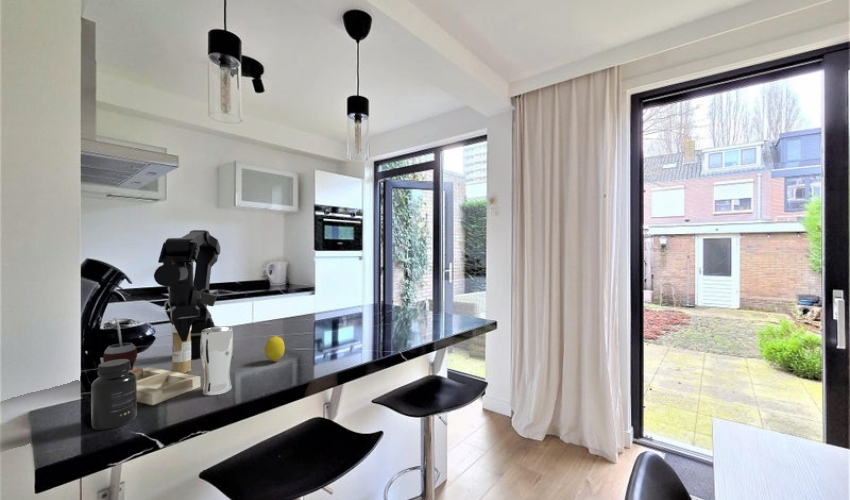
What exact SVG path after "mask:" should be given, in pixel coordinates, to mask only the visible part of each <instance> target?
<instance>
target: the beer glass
mask: <svg viewBox="0 0 850 500" xmlns="http://www.w3.org/2000/svg"><path fill="white" fill-rule="evenodd" d="M200 354H201V359H200V360H201V365H202V369H203V374H204V385H203V389H202V394H203V395H205V396H210V397H211V396H217V395H222V394H225V393H228V392H229V391H231V390H232V382H231V377H230V375H231V372H230V371H231V365H232V362H233V361H232V360H233V354H234V333H233V327H232V326H227V325H222V326H215V327H212V328H207V329H204V330H202V331H201V341H200Z"/></svg>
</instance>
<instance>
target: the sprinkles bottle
mask: <svg viewBox="0 0 850 500" xmlns="http://www.w3.org/2000/svg"><path fill="white" fill-rule="evenodd" d="M171 334H172V348H171V349H172V350H171V351H172V352H171V353H172V355H171V357H172V359H171V360H172V370H171V371H172V372H178V373H183V374H187V373H188V372H191V371H192V367H191V365H192V361H191V359H192V358H191V327H190V331H189V335H188V338H187V341H185V342H182V341H181V339H180V337H179V335H178V333H177V330H176V328H175V326H174V325H172V324H171Z"/></svg>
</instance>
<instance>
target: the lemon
mask: <svg viewBox="0 0 850 500" xmlns="http://www.w3.org/2000/svg"><path fill="white" fill-rule="evenodd" d="M285 347H286V346H285V342H284V340H283V338H282V337H279V336H277V335H273V336H272V337H270V338H269V339H268V340H267V341H266V343H265V345H264V354H265V356H266V357H267V359H268V360H271V361H273V362H274V363H275V362H277V361H278V360H279V359H281V358H282V357H283V356H284V354H285V349H286V348H285Z"/></svg>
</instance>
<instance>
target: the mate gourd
mask: <svg viewBox="0 0 850 500" xmlns="http://www.w3.org/2000/svg"><path fill="white" fill-rule="evenodd" d="M113 319H114V321H115V324H116V330H117V336H118V341H119V343H116V344H115V343H114V344H112V345H108V346H107V348H106V349H105V350H104V352H103V357H102V360H103V363H104V362H107V361H112V360H118V359H128V360H130V366H131V369H130V370H133V369H134V365H135V363H136V360H137V357H138V349H137V347H136V346H135V344H133V342H123V339H122V334H121V333H122V331H121V326H120V322H119V321H118V318H117V317H114V318H113ZM130 370H129V371H130Z"/></svg>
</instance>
